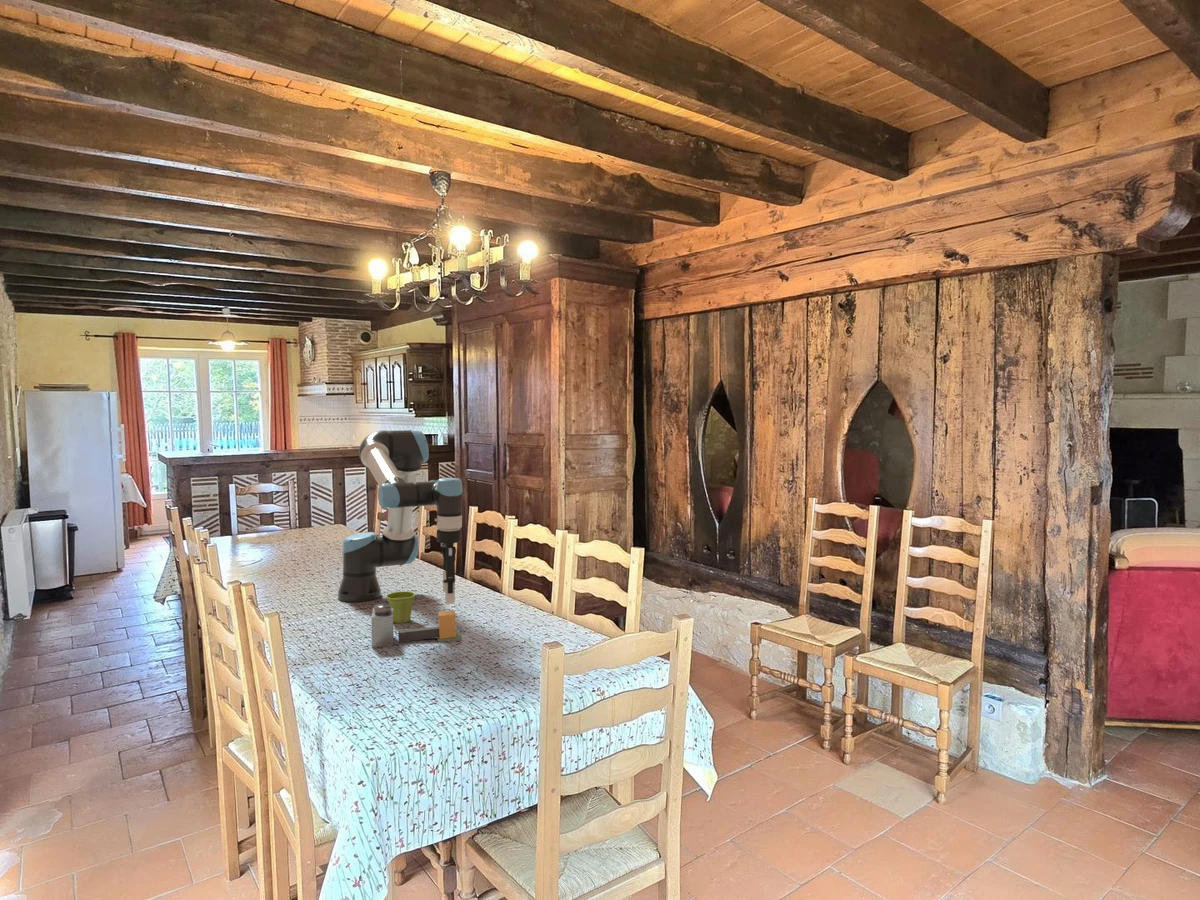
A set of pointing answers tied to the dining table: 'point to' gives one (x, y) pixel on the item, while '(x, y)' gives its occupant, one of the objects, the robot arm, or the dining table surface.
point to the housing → (382, 625)
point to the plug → (432, 629)
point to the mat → (458, 637)
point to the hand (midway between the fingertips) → (448, 597)
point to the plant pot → (401, 605)
